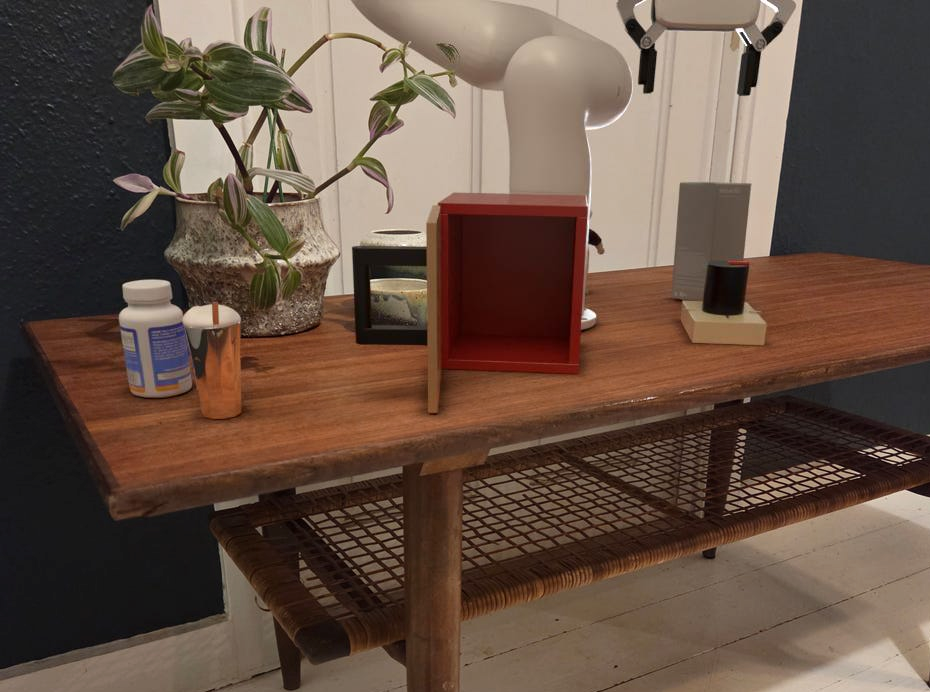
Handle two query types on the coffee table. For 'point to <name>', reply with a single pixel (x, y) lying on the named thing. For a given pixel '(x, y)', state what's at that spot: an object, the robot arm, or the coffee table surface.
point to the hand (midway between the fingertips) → (695, 94)
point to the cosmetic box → (707, 232)
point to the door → (431, 332)
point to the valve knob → (725, 287)
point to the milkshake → (215, 358)
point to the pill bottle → (154, 340)
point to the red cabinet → (512, 281)
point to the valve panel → (723, 325)
